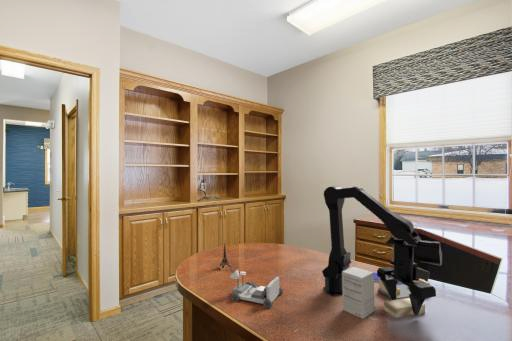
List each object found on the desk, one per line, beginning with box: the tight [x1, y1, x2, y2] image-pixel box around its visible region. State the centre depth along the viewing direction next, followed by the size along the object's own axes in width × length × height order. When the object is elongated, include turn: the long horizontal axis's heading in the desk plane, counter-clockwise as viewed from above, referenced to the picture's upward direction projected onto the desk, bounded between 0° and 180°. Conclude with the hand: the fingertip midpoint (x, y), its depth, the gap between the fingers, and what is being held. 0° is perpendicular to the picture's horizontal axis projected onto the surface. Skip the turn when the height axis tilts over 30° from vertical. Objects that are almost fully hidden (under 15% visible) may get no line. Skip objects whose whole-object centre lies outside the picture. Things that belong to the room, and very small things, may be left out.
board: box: [383, 298, 426, 318], centre depth 86 cm, size 11×5×3 cm, turn 104°
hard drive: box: [372, 271, 403, 285], centre depth 111 cm, size 2×8×12 cm
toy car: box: [229, 269, 284, 309], centre depth 97 cm, size 18×10×12 cm
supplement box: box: [342, 266, 376, 319], centre depth 86 cm, size 7×7×13 cm
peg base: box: [377, 279, 431, 300], centre depth 99 cm, size 15×9×4 cm, turn 104°
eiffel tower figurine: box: [219, 242, 231, 268], centre depth 129 cm, size 15×10×13 cm
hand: (404, 307), depth 86 cm, fingers open, 9 cm apart
